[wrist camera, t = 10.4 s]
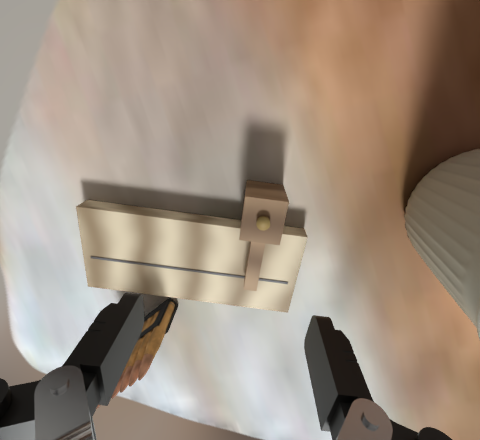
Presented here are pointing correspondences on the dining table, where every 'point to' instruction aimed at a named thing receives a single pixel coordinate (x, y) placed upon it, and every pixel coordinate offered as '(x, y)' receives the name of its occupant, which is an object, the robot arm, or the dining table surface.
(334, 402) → the robot arm
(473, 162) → the canister
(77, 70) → the dining table surface
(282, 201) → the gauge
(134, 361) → the ammunition clip
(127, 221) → the board
